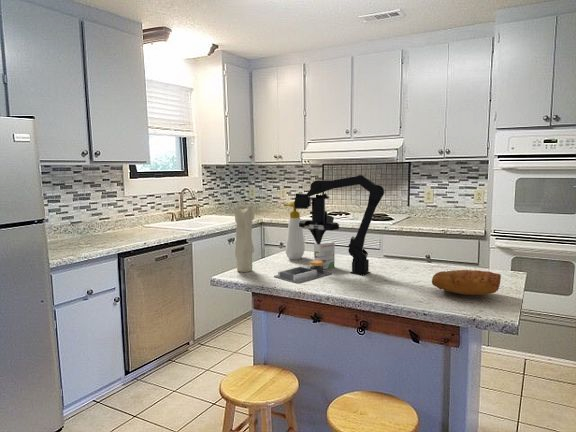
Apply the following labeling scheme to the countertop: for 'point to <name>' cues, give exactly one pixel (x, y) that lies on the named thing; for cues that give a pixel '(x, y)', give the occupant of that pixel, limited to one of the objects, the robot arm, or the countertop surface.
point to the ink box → (325, 253)
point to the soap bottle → (294, 236)
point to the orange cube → (316, 263)
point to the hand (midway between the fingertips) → (318, 244)
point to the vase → (244, 237)
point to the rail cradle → (302, 274)
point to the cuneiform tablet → (467, 281)
